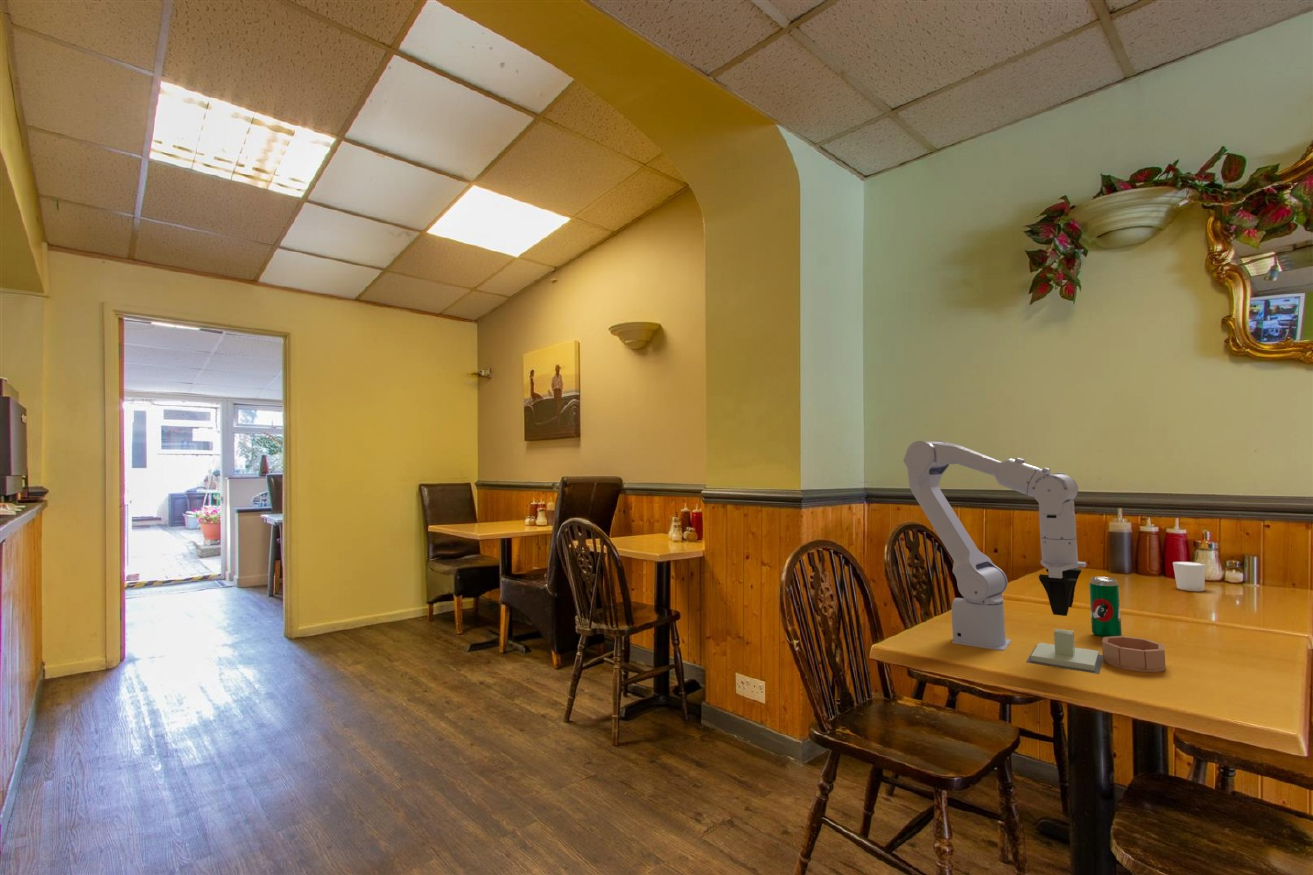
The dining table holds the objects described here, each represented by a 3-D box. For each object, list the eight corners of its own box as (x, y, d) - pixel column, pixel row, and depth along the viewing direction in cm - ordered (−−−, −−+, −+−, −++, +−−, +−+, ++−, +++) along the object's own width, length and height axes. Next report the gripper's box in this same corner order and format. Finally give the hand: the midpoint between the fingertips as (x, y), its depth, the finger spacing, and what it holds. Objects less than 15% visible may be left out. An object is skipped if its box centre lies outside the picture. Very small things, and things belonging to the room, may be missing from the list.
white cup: (1185, 591, 163) (1183, 565, 163) (1168, 586, 170) (1166, 561, 170) (1214, 591, 162) (1212, 565, 162) (1195, 586, 169) (1194, 561, 169)
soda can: (1127, 640, 124) (1123, 581, 124) (1099, 639, 125) (1095, 581, 125) (1114, 632, 129) (1110, 576, 129) (1087, 632, 130) (1084, 576, 130)
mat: (1026, 664, 112) (1025, 661, 112) (1036, 647, 121) (1036, 645, 121) (1099, 676, 105) (1099, 673, 105) (1104, 657, 114) (1104, 655, 114)
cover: (1031, 660, 113) (1029, 633, 113) (1039, 647, 120) (1037, 622, 120) (1094, 670, 107) (1093, 642, 107) (1099, 656, 114) (1097, 629, 114)
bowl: (1102, 667, 109) (1100, 645, 109) (1105, 654, 116) (1104, 633, 116) (1165, 677, 103) (1164, 654, 103) (1165, 663, 110) (1164, 641, 110)
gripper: (1080, 543, 106) (1085, 622, 105) (1087, 534, 117) (1092, 605, 117) (1033, 541, 111) (1037, 616, 110) (1044, 532, 122) (1049, 600, 121)
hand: (1062, 610), depth 114 cm, fingers open, 7 cm apart
